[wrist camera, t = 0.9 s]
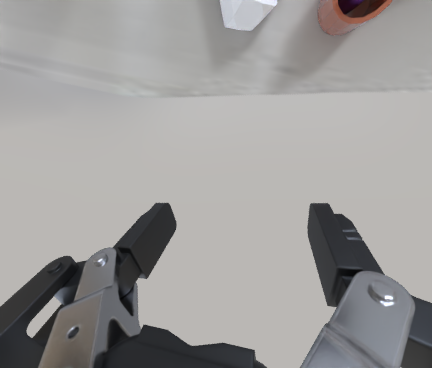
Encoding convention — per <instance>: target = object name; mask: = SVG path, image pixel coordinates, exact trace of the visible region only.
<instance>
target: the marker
mask: <svg viewBox="0 0 432 368" xmlns="http://www.w3.org/2000/svg"><path fill="white" fill-rule="evenodd" d="M363 1H364V0H338V6H339V7H340V9H341V11H342V12H343V14H347V13H349V12H350V11H352V10H353V9H354V8H355V7H357V6H358V5H359V4H360V3H362V2H363Z"/></svg>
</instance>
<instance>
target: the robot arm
mask: <svg viewBox="0 0 432 368" xmlns="http://www.w3.org/2000/svg"><path fill="white" fill-rule="evenodd" d="M175 230H176V220H175V217H174V214H173V212H172V209H171V206H170V204H169V203H156V204H154V206H153V207H152V208H151V209H150V210H149V211H148V212H146V213H145V214H144V215H142V216H141V217H140V218H139V219H138V220H137V221H136V223H135V224H134V225H133V226H132V227H131V228H130V229H129V230H128V231H127V232H126V233H125V235H124V236H123V237H122V238H121V239H120V240H119V241H118V242H117V243H116V245H115V246H114V247H113V248H105V249H102V250H100V251H98V252H96V253H95V254H94V255H92V256H91V257H90V258H89V259H88V260H87V261H82V262H77V263H76V262H75V261H74V260H73V259H72V257H70V256H63V257H60V258H58V259H56V260H54V261H52V262H51V263H49V264H48V265H47V266H45V267H44V268H43V269H42V270H41V271H40V272H39V273H37V275H35V276H34V277H33V278H32V279H31V280H30V281H29V282H28V283H26V284H25V285H24V286H23V287H22V288H21V289H20V290H18V291H17V292H16V293H15V294H14V295H13V296H12V297H11V298H10V299H8V300H7V301H6V302H5V303H4V304H3V305H2V306H1V307H0V368H267V367H266V366H264V365H263V364H262V363H260V362H258V361H257V360H256V357H255V350H252V349H248V348H243V347H239V346H235V345H230V344H226V343H217V344H208V345H199V346H190V345H188V344H187V343H185V342H184V341H183V340H181V339H180V338H178V337H177V336H175V335H174V334H172V333H171V332H170V331H168V330H165V329H161V328H157V327H152V326H148V325H143V327H142V329H141V328H140V326H139V320H138V289H137V283H136V281H137V279H138V278H144V279H147V278H148V277H149V275H150V273H151V271H152V270H153V268H154V266H155V265H156V263H157V261H158V259H159V258H160V256H161V254H162V252H163V251H164V249H165V248H166V246H167V244H168V243H169V241H170V239H171V237H172V236H173V234H174V232H175ZM308 238H309V242H310V245H311V249H312V252H313V256H314V259H315V263H316V267H317V270H318V274H319V277H320V281H321V284H322V288H323V292H324V295H325V299H326V302H327V305H328V306H332V307H337V308H336V310H335V312H334V314H333V316H332V317H331V319H330V321H329V322H328V323H326V324H325V325H324V327H323V328H322V330H321V332H320V333H319V335H318V337H317V339H316V340H315V342H314V344H313V345H312V347H311V349H310V351H309V353H308V354H307V356H306V358H305V360H304V362H303V363H302V365H301V367H300V368H400V367H402V368H432V303H430V302H427V301H424V300H421V299H419V298H416V297H414V296H412V295H410V294H409V293H408V291H407V290H406V289H405V288H404V287H403V286H402V285H400V284H399V283H398V282H396V281H395V280H393V279H392V278H390V277H388V276H385V274H384V273H383V271H382V270H381V268H380V267H379V265H378V264H377V262H376V260H375V259H374V257H373V256H372V254H371V252H370V250H369V249H368V247H367V246H366V244H365V242H364V241H362V237H361V236H360V234H359V233H358V232H357V230H356V228H355V226H354V225H353V223H352V222H351V221H350V220H349V219H348V218H346V217H345V216H344V215H342V214H334V213H333V211H332V209H331V207H330V205H329V204H328V203H311V204H310V209H309V218H308ZM53 296H55V297H56V298H57V299H58V300H59V301H60V302H61V303H62V304H61V305H60V307H59V308H58V309H57V310H56V311H55V312H54V313H53V315H52V316H51V317H50V318H49V320H48V321H47V322H46V323H45V324H44V325H43V326H42V328H41V329H40V330H39V331H38V332H37V333H36V335H35V336H34V337H33V338H31V337H29V336H28V335H27V333H26V330H27V327H28V325H29V323H30V321H31V320H32V319H33V318H34V317H35V316H36V315H37V314H38V313H39V312H40V311H41V309H42V308H43V307H44V306H45V305H46V304H47V303H48V302H49V301H50V300H51V299H52V298H53Z"/></svg>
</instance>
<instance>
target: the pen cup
mask: <svg viewBox="0 0 432 368" xmlns="http://www.w3.org/2000/svg"><path fill="white" fill-rule="evenodd" d="M391 2H392V0H364V1H363V2H362V3H360V4H359V5H358V6H357V7H355V8H354V9H353V10H352V11H350V12H349V13H347V14H343V12H342V11H341V9H340V7H339V6H338V0H321V1H320V4H319V9H318V20H319V24H320V26H321V28H322V29H323V31H325V32H326V33H328V34H330V35H342V34H345V33H348V32H349V31H351V30H354V29H355V28H357V27H359V26H361V25H362V24H364V23H366V22H367V21H369V20H371V19H373V18H374V17H376V16H377V15H378V14H379V13H381V12H382V11H383V10H384V9H385V8H386V7H387V6H388V5H389V4H390V3H391Z"/></svg>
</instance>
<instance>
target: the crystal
mask: <svg viewBox="0 0 432 368" xmlns="http://www.w3.org/2000/svg"><path fill="white" fill-rule="evenodd" d="M219 1H220V6H221V11H222V16H223V21H224V26H225V27H227V28H232V29H237V30H246V31H252V30H253V29H254V28H255V27H256V26H257V25H258V24H259V23H260V22H261V21H262V20H263V19H264V18H265V17H266V15H267V14H268V13H269V12H270V11H271V10H272V9H273V8H274V7H275V6H276V4H277V0H219Z"/></svg>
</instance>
